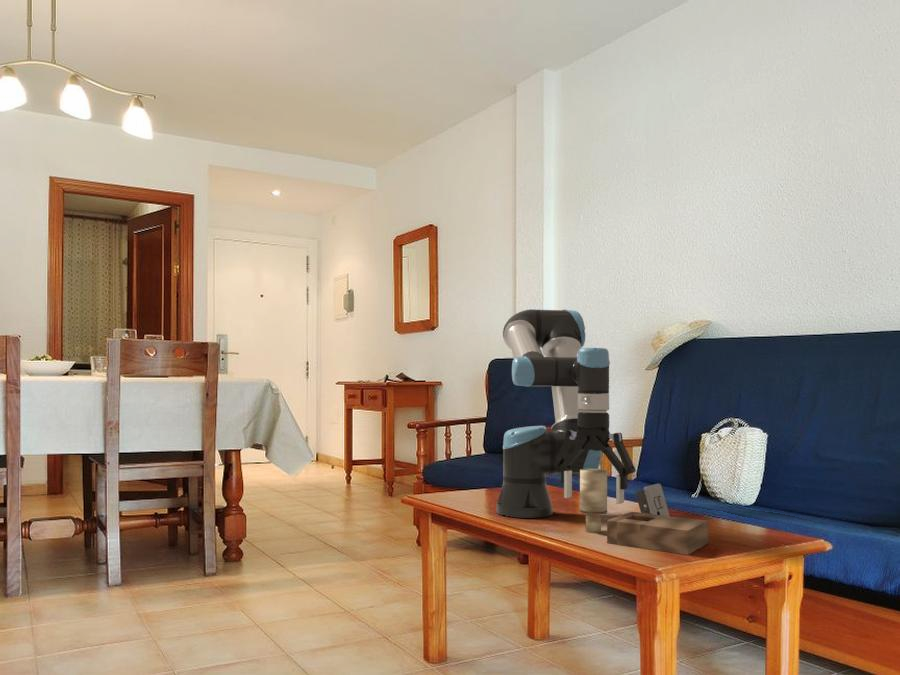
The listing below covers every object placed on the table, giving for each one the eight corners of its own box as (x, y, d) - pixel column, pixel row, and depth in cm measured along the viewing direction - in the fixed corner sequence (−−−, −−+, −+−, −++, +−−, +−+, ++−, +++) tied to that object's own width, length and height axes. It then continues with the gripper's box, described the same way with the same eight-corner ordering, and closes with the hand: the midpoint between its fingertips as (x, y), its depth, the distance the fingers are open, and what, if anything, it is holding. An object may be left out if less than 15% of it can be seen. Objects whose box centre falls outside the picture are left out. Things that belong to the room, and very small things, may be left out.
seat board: (607, 542, 164) (607, 520, 165) (631, 532, 176) (631, 511, 176) (687, 555, 154) (687, 530, 154) (708, 543, 165) (708, 520, 165)
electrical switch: (656, 524, 187) (652, 487, 188) (636, 523, 190) (633, 487, 191) (670, 519, 194) (667, 483, 195) (651, 518, 198) (648, 483, 199)
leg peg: (575, 531, 176) (575, 470, 177) (587, 527, 182) (587, 468, 182) (600, 535, 172) (600, 472, 173) (611, 530, 178) (611, 470, 179)
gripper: (540, 410, 183) (540, 496, 182) (636, 413, 168) (637, 507, 167) (554, 409, 189) (554, 493, 188) (648, 412, 174) (649, 503, 173)
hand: (593, 500), depth 177 cm, fingers open, 13 cm apart
